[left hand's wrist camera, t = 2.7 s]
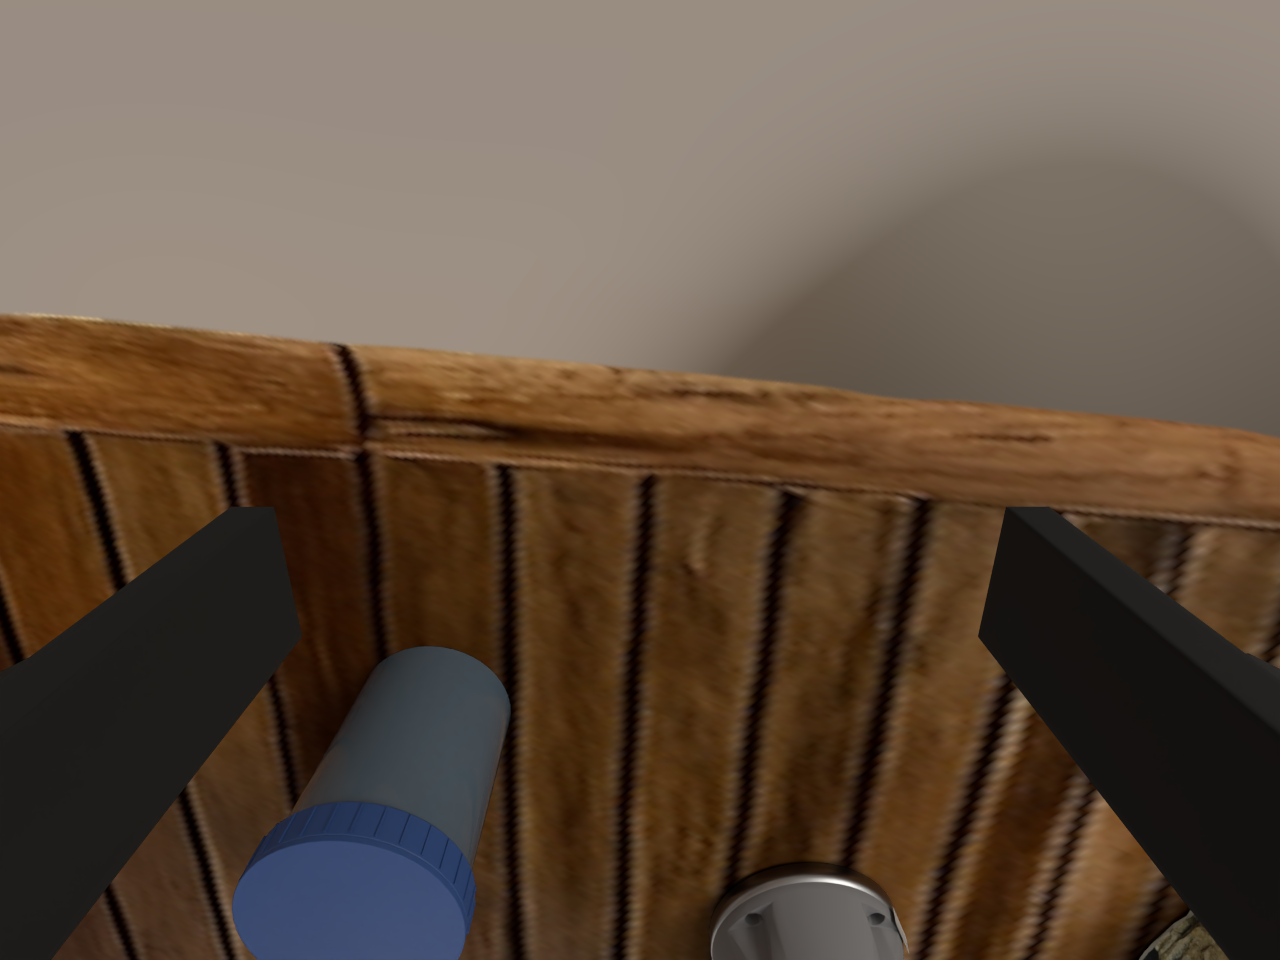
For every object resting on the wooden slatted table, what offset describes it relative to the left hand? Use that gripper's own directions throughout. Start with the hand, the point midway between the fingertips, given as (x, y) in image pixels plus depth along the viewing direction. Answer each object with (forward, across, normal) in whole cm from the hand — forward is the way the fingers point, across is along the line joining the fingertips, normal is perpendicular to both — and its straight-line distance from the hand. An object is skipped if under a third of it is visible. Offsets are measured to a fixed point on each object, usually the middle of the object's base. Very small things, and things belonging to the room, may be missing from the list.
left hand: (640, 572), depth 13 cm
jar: (+28, +14, +27) cm, 41 cm away
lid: (+12, +14, +27) cm, 33 cm away
